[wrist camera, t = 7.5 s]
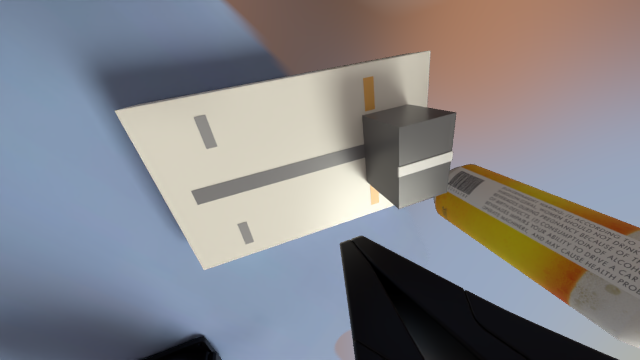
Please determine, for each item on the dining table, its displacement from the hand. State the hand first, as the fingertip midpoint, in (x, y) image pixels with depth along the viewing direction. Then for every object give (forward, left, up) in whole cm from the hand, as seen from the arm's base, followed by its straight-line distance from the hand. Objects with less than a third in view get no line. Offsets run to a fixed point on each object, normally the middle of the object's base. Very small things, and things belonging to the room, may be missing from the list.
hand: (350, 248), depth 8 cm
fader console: (+1, 0, -11) cm, 11 cm away
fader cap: (+6, 0, -8) cm, 10 cm away
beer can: (+16, -8, -11) cm, 21 cm away
